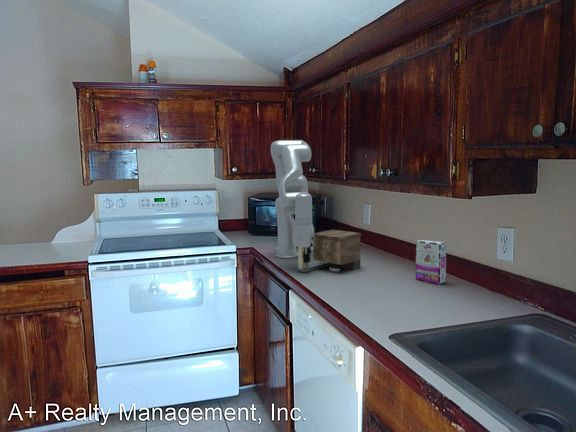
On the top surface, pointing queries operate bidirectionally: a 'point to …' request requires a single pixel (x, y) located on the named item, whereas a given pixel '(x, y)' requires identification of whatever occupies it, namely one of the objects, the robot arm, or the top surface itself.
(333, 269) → the steel token
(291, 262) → the top surface
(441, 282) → the candy bar box
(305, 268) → the wood and grey l-block
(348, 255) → the cabinet
